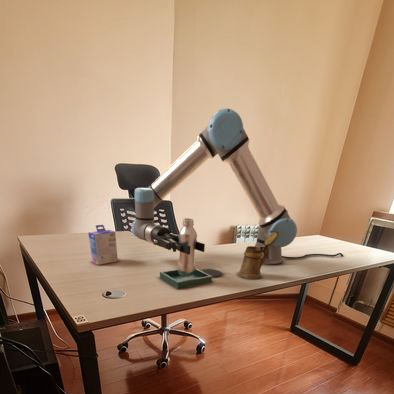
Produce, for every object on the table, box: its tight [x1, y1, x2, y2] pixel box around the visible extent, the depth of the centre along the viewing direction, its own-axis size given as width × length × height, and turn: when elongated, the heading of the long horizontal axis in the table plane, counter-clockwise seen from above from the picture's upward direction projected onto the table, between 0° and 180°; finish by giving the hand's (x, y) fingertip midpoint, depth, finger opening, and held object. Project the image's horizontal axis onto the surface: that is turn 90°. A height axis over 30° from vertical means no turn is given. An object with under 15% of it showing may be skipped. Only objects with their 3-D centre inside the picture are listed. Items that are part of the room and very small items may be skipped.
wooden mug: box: [238, 231, 279, 280], centre depth 122 cm, size 9×14×18 cm, turn 101°
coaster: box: [200, 268, 223, 278], centre depth 126 cm, size 9×9×1 cm
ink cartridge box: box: [87, 224, 119, 266], centre depth 126 cm, size 10×6×14 cm, turn 137°
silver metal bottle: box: [176, 217, 198, 276], centre depth 110 cm, size 6×7×20 cm
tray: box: [159, 267, 213, 290], centre depth 116 cm, size 16×13×2 cm
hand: (196, 249), depth 107 cm, fingers closed on silver metal bottle, 6 cm apart
